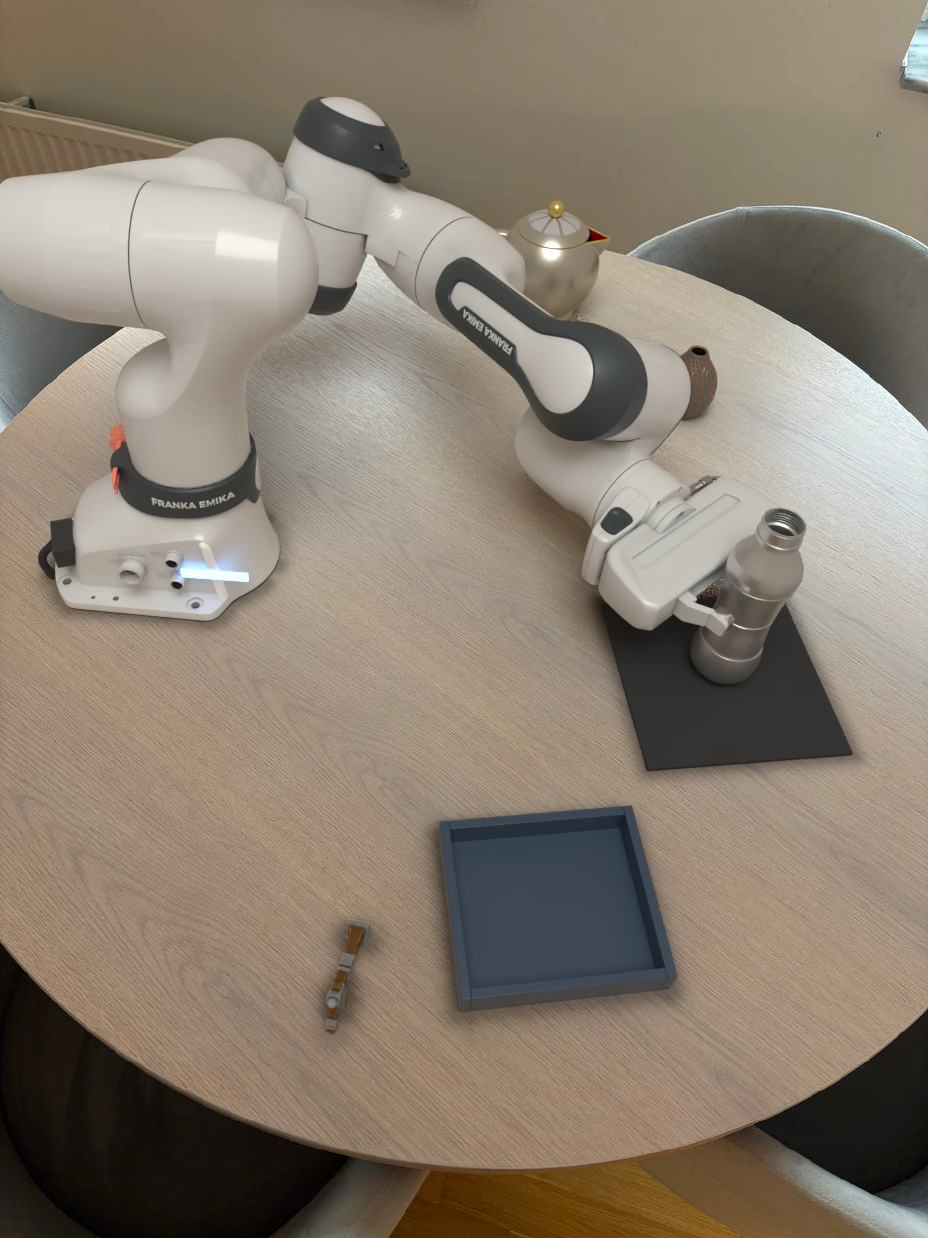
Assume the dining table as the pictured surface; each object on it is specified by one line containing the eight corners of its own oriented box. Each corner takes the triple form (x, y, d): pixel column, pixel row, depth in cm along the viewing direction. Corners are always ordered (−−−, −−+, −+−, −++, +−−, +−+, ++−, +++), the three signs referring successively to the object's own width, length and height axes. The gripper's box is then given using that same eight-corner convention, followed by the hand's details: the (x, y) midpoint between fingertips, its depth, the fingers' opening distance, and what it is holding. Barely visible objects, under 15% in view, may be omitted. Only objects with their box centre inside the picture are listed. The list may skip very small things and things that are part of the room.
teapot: (596, 297, 137) (618, 185, 125) (589, 350, 129) (612, 235, 116) (474, 278, 138) (483, 165, 126) (459, 330, 129) (467, 214, 117)
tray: (458, 1012, 72) (461, 1000, 70) (437, 836, 81) (439, 821, 79) (669, 989, 74) (678, 976, 72) (625, 820, 83) (631, 805, 81)
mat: (647, 771, 87) (648, 769, 86) (599, 605, 99) (600, 602, 99) (851, 755, 89) (853, 753, 89) (780, 595, 102) (781, 593, 102)
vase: (707, 430, 119) (727, 372, 112) (652, 420, 120) (669, 361, 113) (709, 397, 124) (728, 339, 117) (656, 388, 124) (672, 329, 117)
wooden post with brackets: (314, 1040, 69) (319, 996, 67) (342, 958, 76) (348, 916, 74) (338, 1045, 69) (344, 1001, 67) (364, 963, 76) (370, 921, 74)
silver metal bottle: (699, 631, 97) (759, 484, 82) (761, 660, 95) (834, 516, 80) (674, 672, 94) (733, 528, 78) (739, 704, 92) (811, 562, 76)
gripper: (706, 492, 99) (815, 571, 93) (569, 585, 89) (680, 680, 83) (723, 446, 94) (839, 526, 88) (580, 539, 84) (699, 636, 78)
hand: (761, 602), depth 85 cm, fingers open, 8 cm apart
